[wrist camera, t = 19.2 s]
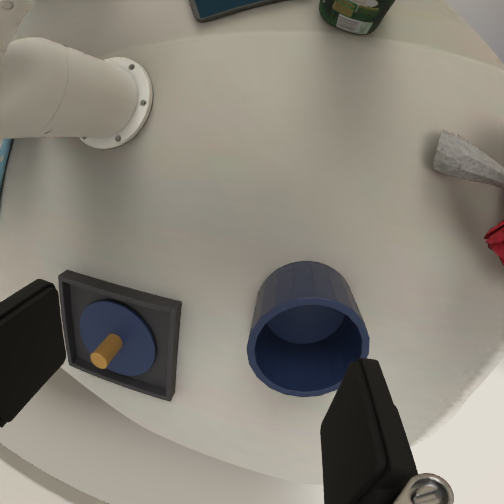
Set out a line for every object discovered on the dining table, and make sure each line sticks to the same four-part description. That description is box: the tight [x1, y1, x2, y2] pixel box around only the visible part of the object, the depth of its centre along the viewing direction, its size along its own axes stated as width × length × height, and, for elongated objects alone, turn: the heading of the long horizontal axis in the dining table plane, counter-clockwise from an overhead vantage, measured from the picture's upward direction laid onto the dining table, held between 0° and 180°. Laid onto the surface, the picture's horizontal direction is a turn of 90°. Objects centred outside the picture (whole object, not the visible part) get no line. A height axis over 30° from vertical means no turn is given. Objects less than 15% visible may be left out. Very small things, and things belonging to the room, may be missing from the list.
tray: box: [58, 270, 182, 401], centre depth 45 cm, size 20×18×2 cm
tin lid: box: [80, 300, 156, 376], centre depth 42 cm, size 14×14×7 cm
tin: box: [247, 261, 370, 397], centre depth 36 cm, size 13×13×10 cm
